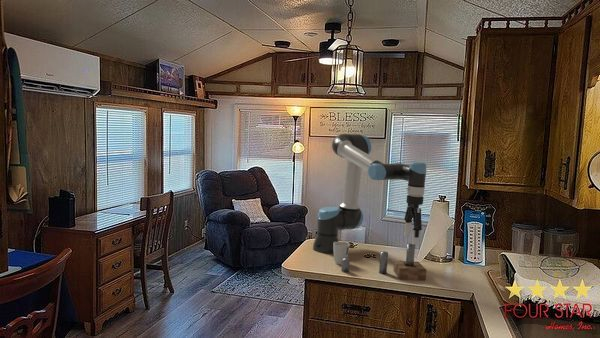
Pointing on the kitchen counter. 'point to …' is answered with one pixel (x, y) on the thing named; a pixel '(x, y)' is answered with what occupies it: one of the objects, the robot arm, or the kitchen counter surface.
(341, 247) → the cup
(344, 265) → the pin short
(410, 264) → the pin long
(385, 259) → the pin medium
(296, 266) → the kitchen counter surface
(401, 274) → the hole block
